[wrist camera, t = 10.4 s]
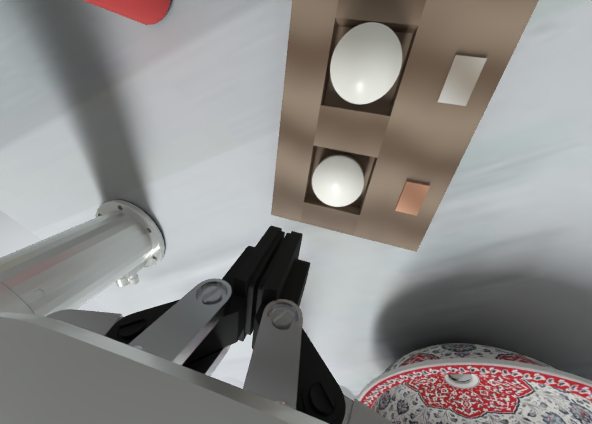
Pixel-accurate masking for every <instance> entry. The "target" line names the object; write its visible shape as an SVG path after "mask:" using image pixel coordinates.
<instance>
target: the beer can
mask: <svg viewBox="0 0 592 424" xmlns="http://www.w3.org/2000/svg"><path fill="white" fill-rule="evenodd" d="M83 1H86V2H88V3H91V4H94V5H96V6H99V7H101V8H104V9H106V10H109V11H112V12H114V13H117V14H119V15H122V16H125V17H127V18H130V19H132V20H135V21H138V22H140V23H143V24H145V25H148V24H156V23H157V22H159V21H160V20H162V19H163V18H164V16H165V15H166V13H167V12H168V10H169V6H170V3H171V0H83Z"/></svg>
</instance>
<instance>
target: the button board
mask: <svg viewBox="0 0 592 424" xmlns="http://www.w3.org/2000/svg"><path fill="white" fill-rule="evenodd" d="M538 1H539V0H292V10H291V20H290V30H289V41H288V51H287V61H286V71H285V81H284V91H283V101H282V111H281V121H280V131H279V141H278V151H277V161H276V171H275V181H274V192H273V202H272V212H271V215H275V216H279V217H282V218H286V219H290V220H294V221H298V222H302V223H306V224H310V225H314V226H318V227H322V228H326V229H330V230H333V231H337V232H341V233H345V234H349V235H353V236H357V237H361V238H365V239H369V240H373V241H377V242H381V243H384V244H388V245H392V246H396V247H400V248H404V249H408V250H412V251H416V252H417V250H418V247H419V245H420V243H421V241H422V239H423V237H424V235H425V233H426V231H427V229H428V227H429V225H430V223H431V221H432V219H433V217H434V215H435V212H436V210H437V208H438V206H439V204H440V202H441V200H442V198H443V196H444V194H445V192H446V190H447V188H448V186H449V184H450V182H451V180H452V178H453V175H454V173H455V171H456V169H457V167H458V165H459V163H460V161H461V159H462V157H463V155H464V153H465V151H466V149H467V147H468V145H469V143H470V140H471V138H472V136H473V134H474V132H475V130H476V128H477V126H478V124H479V122H480V120H481V118H482V116H483V114H484V112H485V110H486V108H487V105H488V103H489V101H490V99H491V97H492V95H493V93H494V91H495V89H496V87H497V85H498V83H499V81H500V79H501V77H502V75H503V73H504V70H505V68H506V66H507V64H508V62H509V60H510V58H511V56H512V54H513V52H514V50H515V48H516V46H517V44H518V42H519V40H520V38H521V36H522V33H523V31H524V29H525V27H526V25H527V23H528V21H529V19H530V17H531V15H532V13H533V11H534V9H535V7H536V5H537V3H538ZM369 22H376V23H381V24H383V25H385V26H387V27H389V28H390V29H391V30H392V31H393V32H394V33H395V34H396V36H397V37H398V39H399V42H400V44H401V48H402V65H401V69H400V72H399V75H398V77H397V79H396V81H395V83H394V84H393V86H392V87H391V88H390V90H389V91H388V92H387V93H386V94H385V95H383V96H382V97H381V98H379V99H377V100H375V101H373V102H371V103H368V104H353V103H350V102H348V101H346V100H344V99H343V98H342V97H341V96H340V95H339V94H338V93H337V92H336V90H335V88H334V86H333V84H332V81H331V75H330V65H331V59H332V55H333V52H334V50H335V48H336V46H337V44H338V43H339V41H340V40H341V38H342V37H343V36H344V35H345V34H346V33H347V32H348V31H350V30H351V29H353V28H354V27H356V26H358V25H360V24H364V23H369ZM337 153H342V154H347V155H350V156H352V157H354V158H355V159H356V160H357V161H358V162H359V163H360V165H361V167H362V169H363V173H364V186H363V190H362V193H361V194H360V196H359V197H358V198H357V199H356V200H355V201H354V202H353V203H351V204H349V205H346V206H342V207H334V206H330V205H327V204H325V203H323V202H322V201H321V200H320V199H319V198H318V197H317V196H316V194H315V193H314V190H313V187H312V177H313V174H314V171H315V169H316V168H317V167H318V165H319V164H320V162H321V161H322V160H323V159H325V158H326V157H328V156H330V155H332V154H337Z"/></svg>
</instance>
